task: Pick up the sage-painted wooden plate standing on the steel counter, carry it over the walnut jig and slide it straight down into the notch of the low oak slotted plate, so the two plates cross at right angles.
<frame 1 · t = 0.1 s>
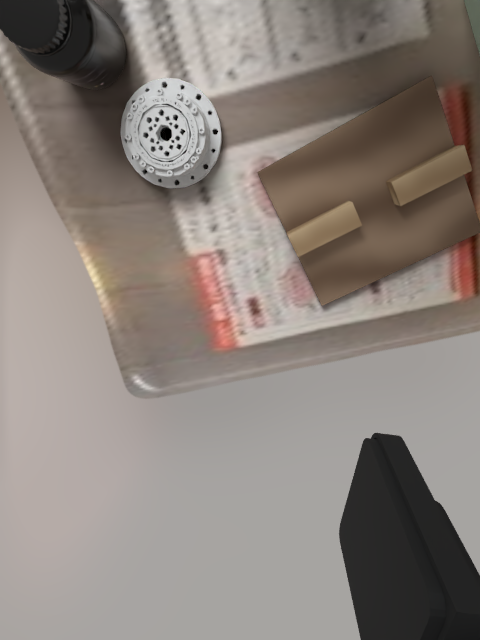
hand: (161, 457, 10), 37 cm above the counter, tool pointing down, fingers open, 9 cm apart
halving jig: (368, 201, 43), on the counter
supplement bottle: (93, 52, 39), on the counter
mechanical component: (173, 136, 42), on the counter
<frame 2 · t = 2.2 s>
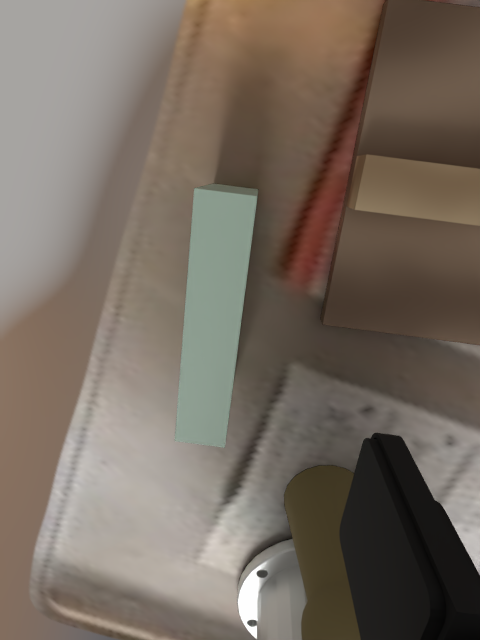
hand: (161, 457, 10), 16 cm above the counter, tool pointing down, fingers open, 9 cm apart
sage plate: (224, 289, 25), on the counter
cork: (325, 497, 30), on the counter
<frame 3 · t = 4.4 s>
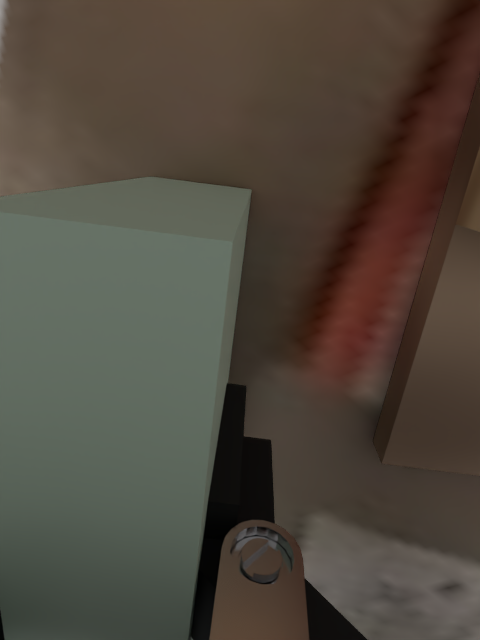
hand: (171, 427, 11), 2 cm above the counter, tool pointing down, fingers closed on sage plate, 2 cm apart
sage plate: (184, 393, 12), on the counter, touching gripper
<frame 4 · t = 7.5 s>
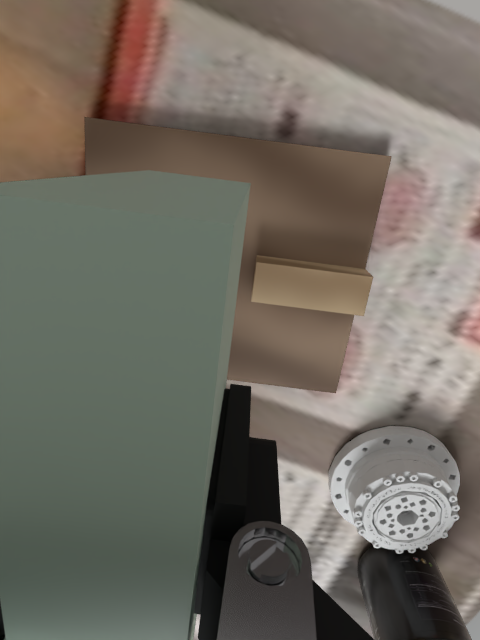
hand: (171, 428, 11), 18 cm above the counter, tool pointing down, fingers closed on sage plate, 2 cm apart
sage plate: (183, 388, 12), point 16 cm above the counter, touching gripper
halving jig: (225, 266, 28), on the counter
supplement bottle: (394, 561, 37), on the counter
mechanical component: (388, 472, 34), on the counter
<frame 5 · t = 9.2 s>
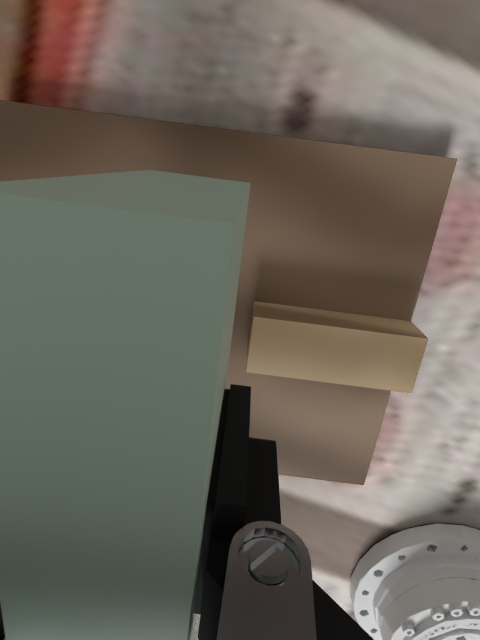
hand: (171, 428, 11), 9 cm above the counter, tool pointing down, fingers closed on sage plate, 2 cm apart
sage plate: (183, 388, 12), point 8 cm above the counter, touching gripper
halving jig: (209, 314, 19), on the counter
mechanical component: (429, 577, 25), on the counter
when the fingers open (4 cm above the counter, at t = 10.7 s): sage plate drops 1 cm, resting on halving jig.
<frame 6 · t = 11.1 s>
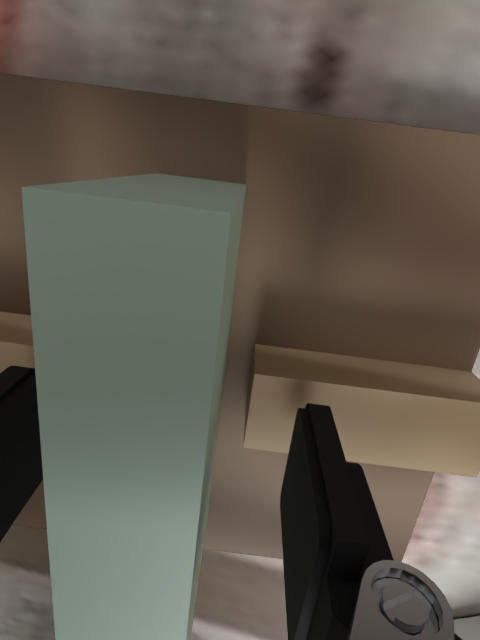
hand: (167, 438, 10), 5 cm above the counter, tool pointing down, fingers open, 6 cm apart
sage plate: (186, 368, 14), point 1 cm above the counter, touching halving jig
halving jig: (194, 357, 14), on the counter
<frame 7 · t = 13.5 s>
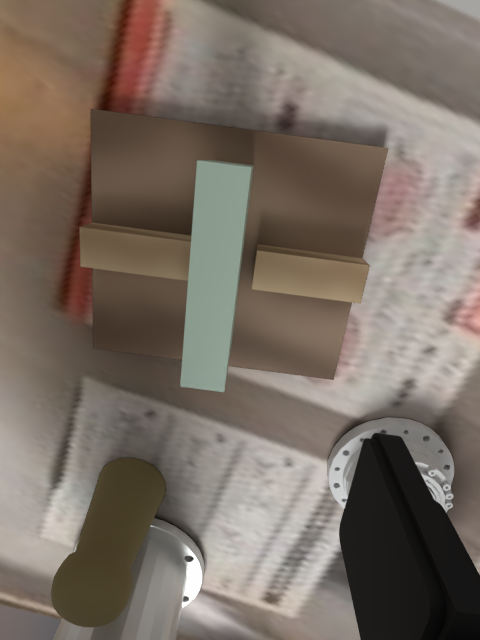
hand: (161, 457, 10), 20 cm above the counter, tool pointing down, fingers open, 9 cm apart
sage plate: (223, 258, 27), point 1 cm above the counter, touching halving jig
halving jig: (226, 255, 28), on the counter
cork: (132, 483, 36), on the counter
mechanical component: (385, 463, 35), on the counter
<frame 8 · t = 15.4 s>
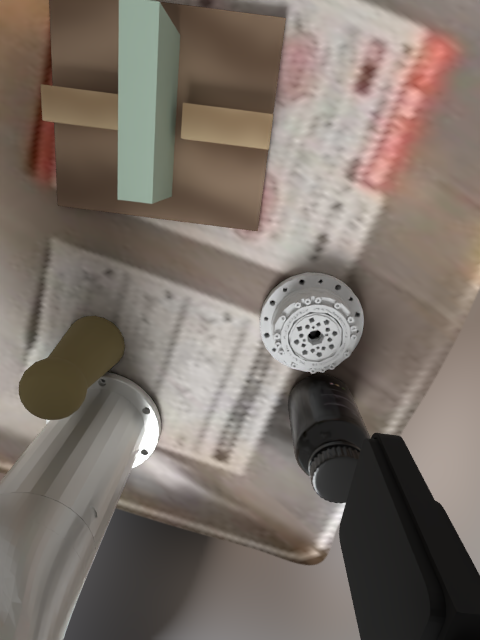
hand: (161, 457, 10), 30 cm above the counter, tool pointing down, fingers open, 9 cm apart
sage plate: (160, 119, 34), point 1 cm above the counter, touching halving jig
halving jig: (164, 121, 35), on the counter
supplement bottle: (319, 399, 44), on the counter
cork: (96, 342, 43), on the counter
mechanical component: (309, 319, 41), on the counter
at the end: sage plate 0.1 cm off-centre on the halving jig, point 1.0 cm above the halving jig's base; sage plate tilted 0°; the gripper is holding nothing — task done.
